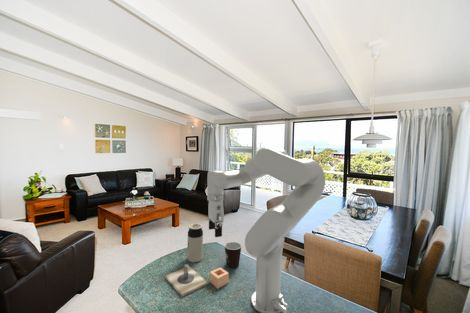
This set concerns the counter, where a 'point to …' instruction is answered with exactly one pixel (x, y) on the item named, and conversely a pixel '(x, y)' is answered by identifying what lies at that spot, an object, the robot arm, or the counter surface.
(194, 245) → the travel mug
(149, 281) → the counter surface
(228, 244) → the coffee mug
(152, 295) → the counter surface
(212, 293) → the counter surface
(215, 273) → the ring
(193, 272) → the post stand
